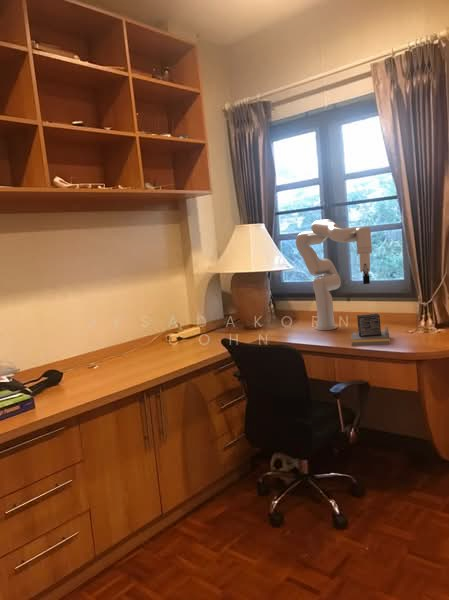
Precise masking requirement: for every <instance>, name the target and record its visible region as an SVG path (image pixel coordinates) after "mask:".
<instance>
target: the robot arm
mask: <svg viewBox="0 0 449 600" xmlns="http://www.w3.org/2000/svg"><path fill="white" fill-rule="evenodd" d="M310 229H311V230H307V231H303V232H300V233H298V234H297V236H296V238H295V246H296V249H297V251H298V253H299V254H300V256H301V258H302V259H303V262H304V264H305V267H306V268H307V270H308V272H309V274H310V275H311V276H314V277H315V278H314V280H313V282H312V288H313V291H314V295H315V296H314V297H315V303H316V304H315V305H316V313H317V315H316V316H317V325H316V326H315V329H316V330H317V331H329V330H336V329H337V328H338V325H337V324H335V317H334V314H335V313H334V306H333V305H334V303H333V296H332V294H331V292H330V291H335V290H338V289H339V288H340V287H341V285H342V284H341V283H342V282H341V277H340V275H339V272H338V270H337V268H336V267H335V265H334V263H333V261H332V260H330V259H329V258H319V256H318V254H317V252H316V250H314V248H312V247H311V246H314V245H319V244H322V243H324V242H325V241H326V240H327V239H328V238H329V239H330V240H331V241H333V242H336V243H341V244H342V243H343V244H346V243H355V242H356V243H355V244H356V254H357V255H359V258H358V259H359V270H360V271H359V272H360V273H362V281H363V285H370V284H371V283H370V271H371V254H372V253H373V248H372V247H373V246H372V233H371V231H372V230H371V227H369V226H363V227H348V228H347V227H346V228H340V226H339V225H338V224H337V223H335V222H334V220H331V219H330V218H329V219H318V220H315V221H313V223H311V227H310Z"/></svg>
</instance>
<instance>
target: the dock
mask: <svg viewBox="0 0 449 600" xmlns="http://www.w3.org/2000/svg"><path fill="white" fill-rule="evenodd" d="M384 328H385V329H384V331H382V330H381V335H380V336H368V337H360V336H359V332H358V331H357V332H352V333H351V339H350V340H351V346H373V345H374V346H375V345H390V344H391V343H390V342H391V341H390V331H389V327H388V326H385V327H384Z"/></svg>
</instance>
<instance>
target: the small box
mask: <svg viewBox="0 0 449 600" xmlns="http://www.w3.org/2000/svg"><path fill="white" fill-rule="evenodd" d="M356 319H357V328H358V331H357V332H359V336H360V337H368V336H380V335H381V331H382V330H381V329H382V328H381V316H380V314H379V313H369V314H358V315H357V316H356Z"/></svg>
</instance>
